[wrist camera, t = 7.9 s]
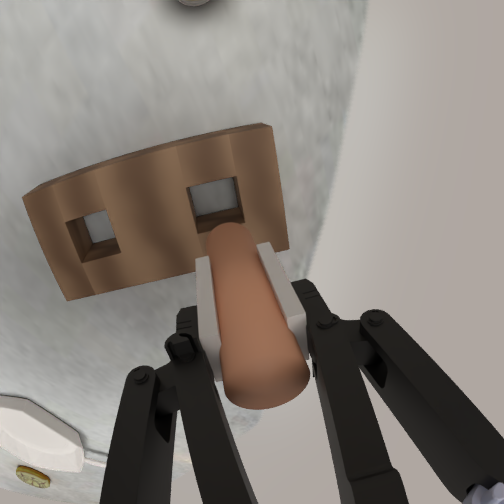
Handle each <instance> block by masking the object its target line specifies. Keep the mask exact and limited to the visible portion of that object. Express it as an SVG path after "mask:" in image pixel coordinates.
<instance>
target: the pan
mask: <svg viewBox="0 0 504 504" xmlns="http://www.w3.org/2000/svg"><path fill="white" fill-rule="evenodd" d="M0 447H1V448H3V449H4V450H6V451H7V452H9V453H11V454H12V455H14V456H16V457H17V458H19V459H21V460H23V461H24V462H26V463H28V464H30V465H32V466H36V467H40V468H44V469H50V470H57V471H65V472H80V471H81V470H82V468H83V465H84V462H86V463H88V464H92V465H95V466H99V467H103V468H106V464H107V463H106V462H102V461H98V460H94V459H90V458H86V457H85V455H84V450H83V446H82V443H81V440H80V437H79V434H78V432H77V431H75V430H74V429H73V428H71V427H70V426H68V425H67V424H66V423H64V422H63V421H61V420H59V419H58V418H57V417H55V416H54V415H52V414H50V413H49V412H47V411H46V410H44V409H43V408H41V407H40V406H38V405H37V404H35V403H33V402H32V401H30V400H29V399H24V398H18V397H11V396H2V395H0Z"/></svg>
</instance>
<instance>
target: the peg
mask: <svg viewBox="0 0 504 504" xmlns="http://www.w3.org/2000/svg"><path fill="white" fill-rule="evenodd" d="M206 252H207V256H209V259H210V263H211V269H212V277H213V285H214V293H215V301H216V308H217V316H218V323H219V330H220V337H221V344H222V345H221V348H220V352H219V358H220V365H221V372H222V378H223V385H224V391H225V395H226V397H227V398H228V399H229V401H231V402H232V403H233V404H235V405H237V406H239V407H242V408H246V409H254V410H259V409H269V408H273V407H277V406H279V405H282V404H285V403H287V402H289V401H290V400H292V399H294V398H295V397H297V396H298V395H299V394H300V393H301V392H302V391H303V390H304V389H305V387H306V386H307V384H308V382H309V379H310V370H309V368H308V365H307V363H306V360H305V358H304V356H303V353H302V351H301V349H300V346H299V344H298V342H297V339H296V337H295V335H294V333H293V332H292V331H291V330H290V329H289V328H288V326H287V324H286V321H285V319H284V316H283V314H282V312H281V309H280V307H279V304H278V302H277V299H276V297H275V295H274V292H273V290H272V287H271V285H270V282H269V280H268V278H267V275H266V273H265V270H264V268H263V265H262V263H261V261H260V258H259V256H258V253H257V247H256V244H255V242H254V239H253V237H252V235H251V233H250V231H249V230H248V229H247V228H246V227H244V226H243V225H241V224H238V223H233V222H229V223H223V224H221V225H218V226H217V227H215V228H214V229H213V230H212V231H211V232H210V234H209V235H208V237H207V241H206Z"/></svg>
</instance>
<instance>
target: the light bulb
mask: <svg viewBox="0 0 504 504" xmlns="http://www.w3.org/2000/svg"><path fill="white" fill-rule="evenodd" d="M178 1H180V2H181V3H182V4H184V5H187V6H199V5H202V4H205V3H206V2H208V1H209V0H178Z"/></svg>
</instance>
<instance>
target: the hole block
mask: <svg viewBox="0 0 504 504" xmlns="http://www.w3.org/2000/svg"><path fill="white" fill-rule="evenodd" d="M230 177H233V181H234V186H235V191H236V196H237V201H238V207H237V208H232V209H228V210H224V211H219V212H215V213H211V214H207V215H202V216H198V217H196V213H195V209H194V205H193V201H192V197H191V193H190V189H189V187H191V186H195V185H199V184H203V183H208V182H212V181H216V180H221V179H225V178H230ZM22 199H23V202H24V205H25V207H26V210H27V213H28V216H29V218H30V221H31V223H32V226H33V228H34V231H35V233H36V236H37V238H38V241H39V243H40V246H41V248H42V250H43V252H44V255H45V257H46V259H47V261H48V264H49V266H50V268H51V270H52V272H53V274H54V276H55V279H56V281H57V283H58V285H59V287H60V289H61V291H62V293H63V295H64V297H65V298H66V300H67V301H71V300H75V299H79V298H84V297H88V296H92V295H97V294H101V293H105V292H110V291H114V290H118V289H123V288H127V287H131V286H136V285H140V284H144V283H149V282H153V281H157V280H161V279H166V278H170V277H174V276H179V275H183V274H187V273H191V272H196V262H195V259H196V258H201V257H205V256H207V252H206V241H207V237H208V235H209V234H210V232H211V231H212V230H213V229H214V228H215V227H217V226H218V225H221V224H223V223H229V222H233V223H238V224H241V225H243V226H244V227H246V228H247V229H248V230H249V231H250V233H251V235H252V237H253V239H254V242H255V244H256V245H257V244H261V243H266V242H270V244H271V246H272V248H273V250H274V252H275V253H276V252H280V251H284V250H288V249H289V241H288V234H287V226H286V218H285V211H284V204H283V196H282V189H281V182H280V175H279V169H278V162H277V155H276V149H275V142H274V136H273V130H272V126H270V125H266V124H263V123H257V124H251V125H246V126H240V127H235V128H230V129H225V130H220V131H215V132H211V133H206V134H202V135H197V136H193V137H189V138H185V139H180V140H176V141H172V142H169V143H165V144H161V145H157V146H153V147H150V148H146V149H143V150H139V151H136V152H132V153H129V154H126V155H122V156H119V157H116V158H113V159H110V160H106V161H103V162H100V163H97V164H94V165H91V166H88V167H86V168H83V169H80V170H77V171H74V172H71V173H69V174H66V175H63V176H61V177H58V178H55V179H53V180H50V181H48V182H45V183H43V184H40V185H39V186H37V187H36V188H34V189H33V190H31V191H30V192H29V193H27V194H26V195H24V196H23V197H22ZM105 209H106V211H107V214H108V217H109V220H110V222H111V225H112V228H113V231H114V234H115V237H116V238H112V239H109V240H105V241H101V242H98V243H94V244H93V243H92V240H91V238H90V235H89V232H88V230H87V227H86V224H85V222H84V219H83V216H86V215H89V214H92V213H95V212H99V211H102V210H105Z"/></svg>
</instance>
